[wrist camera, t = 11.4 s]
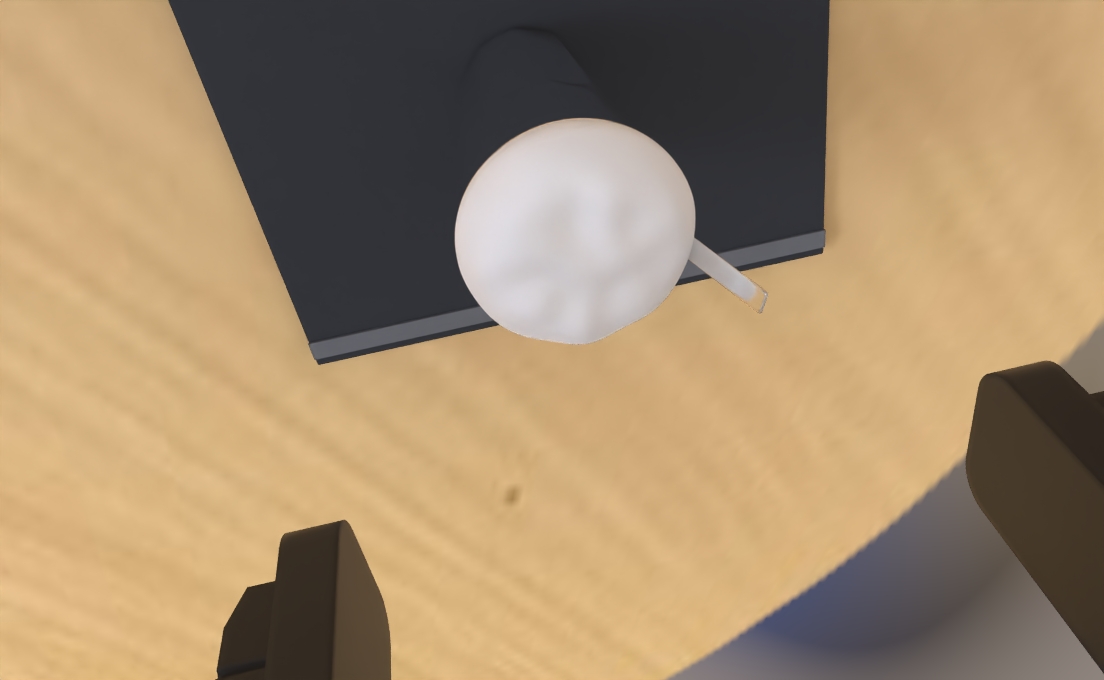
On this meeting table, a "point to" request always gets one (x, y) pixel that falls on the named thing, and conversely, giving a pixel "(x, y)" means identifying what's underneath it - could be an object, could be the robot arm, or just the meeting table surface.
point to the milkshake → (568, 199)
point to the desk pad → (434, 135)
